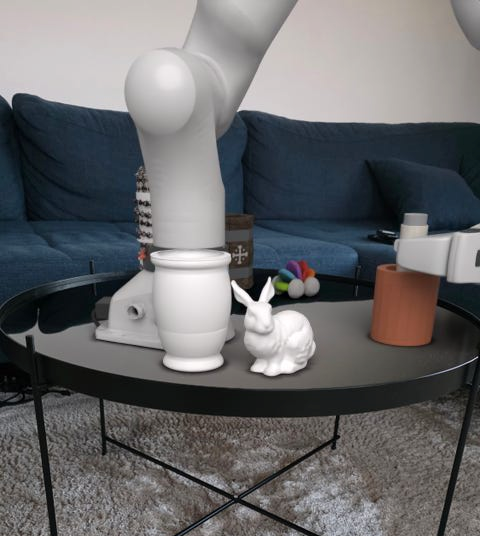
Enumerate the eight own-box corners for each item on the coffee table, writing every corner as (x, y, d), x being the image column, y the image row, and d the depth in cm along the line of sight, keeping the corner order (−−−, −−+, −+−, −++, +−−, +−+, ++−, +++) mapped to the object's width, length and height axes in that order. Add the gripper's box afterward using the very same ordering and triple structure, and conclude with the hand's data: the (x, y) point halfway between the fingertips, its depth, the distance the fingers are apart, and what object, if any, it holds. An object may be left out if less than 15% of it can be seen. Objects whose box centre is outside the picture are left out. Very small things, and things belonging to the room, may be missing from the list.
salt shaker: (394, 280, 91) (402, 214, 87) (395, 275, 94) (402, 212, 91) (421, 281, 90) (430, 215, 86) (421, 277, 94) (429, 213, 90)
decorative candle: (186, 305, 116) (182, 166, 106) (138, 306, 115) (130, 165, 105) (183, 295, 125) (179, 165, 114) (138, 296, 123) (131, 165, 113)
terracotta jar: (368, 343, 93) (375, 272, 88) (371, 328, 101) (378, 262, 97) (432, 348, 91) (442, 275, 86) (429, 332, 99) (439, 265, 95)
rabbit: (262, 383, 76) (264, 289, 71) (219, 365, 82) (218, 277, 78) (329, 366, 82) (335, 278, 78) (284, 350, 89) (288, 268, 84)
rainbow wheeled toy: (325, 296, 125) (327, 261, 122) (289, 301, 120) (290, 265, 117) (299, 289, 131) (301, 255, 128) (264, 294, 126) (265, 259, 123)
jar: (140, 368, 81) (133, 255, 75) (181, 349, 89) (178, 245, 83) (207, 380, 76) (205, 261, 70) (244, 359, 85) (245, 251, 79)
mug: (247, 279, 142) (248, 213, 136) (260, 290, 130) (261, 218, 124) (165, 281, 139) (162, 213, 133) (170, 293, 127) (167, 219, 121)
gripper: (532, 224, 86) (447, 218, 96) (457, 234, 74) (368, 225, 83) (523, 268, 89) (441, 258, 98) (450, 285, 76) (364, 271, 86)
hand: (407, 243), depth 91 cm, fingers closed on salt shaker, 4 cm apart
